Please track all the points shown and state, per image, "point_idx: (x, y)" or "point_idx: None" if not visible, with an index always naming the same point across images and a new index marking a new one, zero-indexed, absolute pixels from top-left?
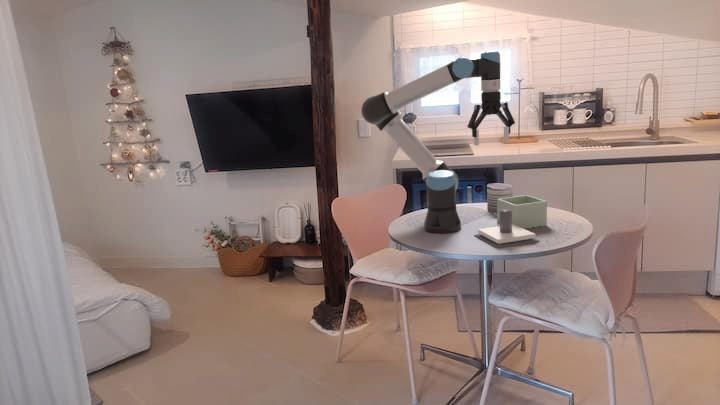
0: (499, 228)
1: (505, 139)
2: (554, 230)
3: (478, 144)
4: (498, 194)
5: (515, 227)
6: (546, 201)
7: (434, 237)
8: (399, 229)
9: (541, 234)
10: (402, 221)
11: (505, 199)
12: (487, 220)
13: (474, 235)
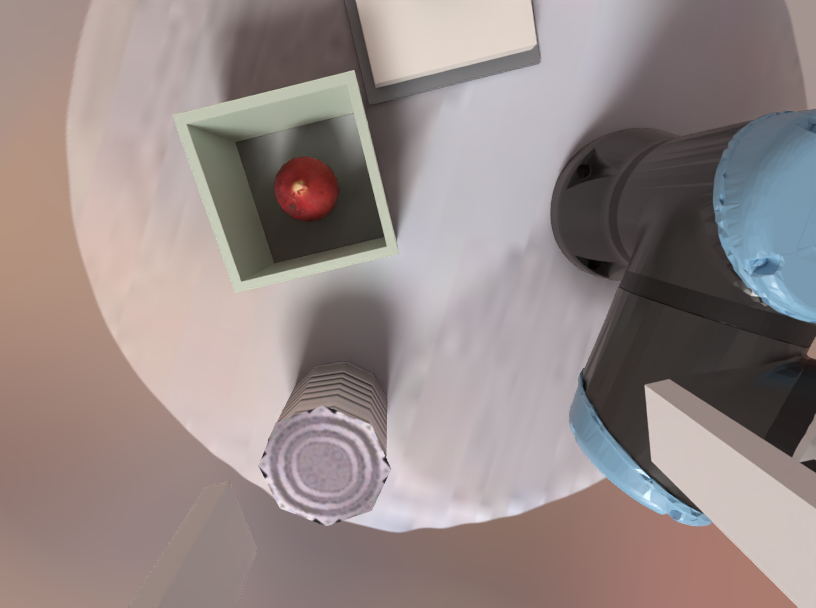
0: (449, 28)
1: (230, 548)
2: (214, 54)
3: (659, 388)
4: (347, 402)
5: (380, 24)
6: (175, 115)
7: (686, 87)
8: None
9: (281, 8)
10: None
11: (355, 253)
12: (425, 275)
13: (539, 62)
